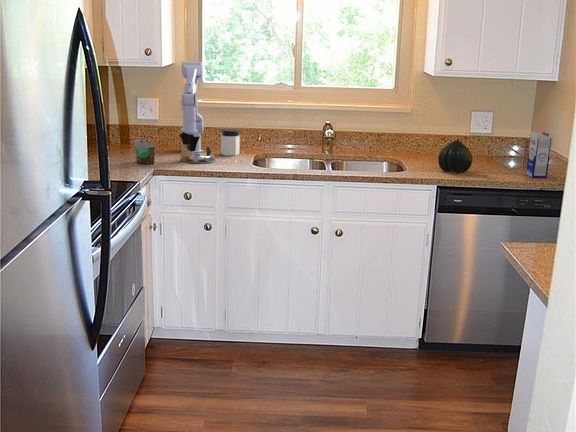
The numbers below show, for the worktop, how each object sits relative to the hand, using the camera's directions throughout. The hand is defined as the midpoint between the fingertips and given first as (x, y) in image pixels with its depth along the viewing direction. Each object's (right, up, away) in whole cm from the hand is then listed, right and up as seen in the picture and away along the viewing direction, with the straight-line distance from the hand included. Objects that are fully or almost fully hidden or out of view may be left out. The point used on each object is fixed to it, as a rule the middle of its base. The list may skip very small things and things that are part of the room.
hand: (189, 150), depth 300 cm
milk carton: (+156, -13, -7) cm, 157 cm away
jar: (+17, 0, +22) cm, 28 cm away
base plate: (+3, -4, +4) cm, 7 cm away
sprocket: (+3, -4, +4) cm, 7 cm away
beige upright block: (-1, -3, 0) cm, 3 cm away
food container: (-20, -7, -6) cm, 22 cm away
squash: (+120, -10, -2) cm, 121 cm away
